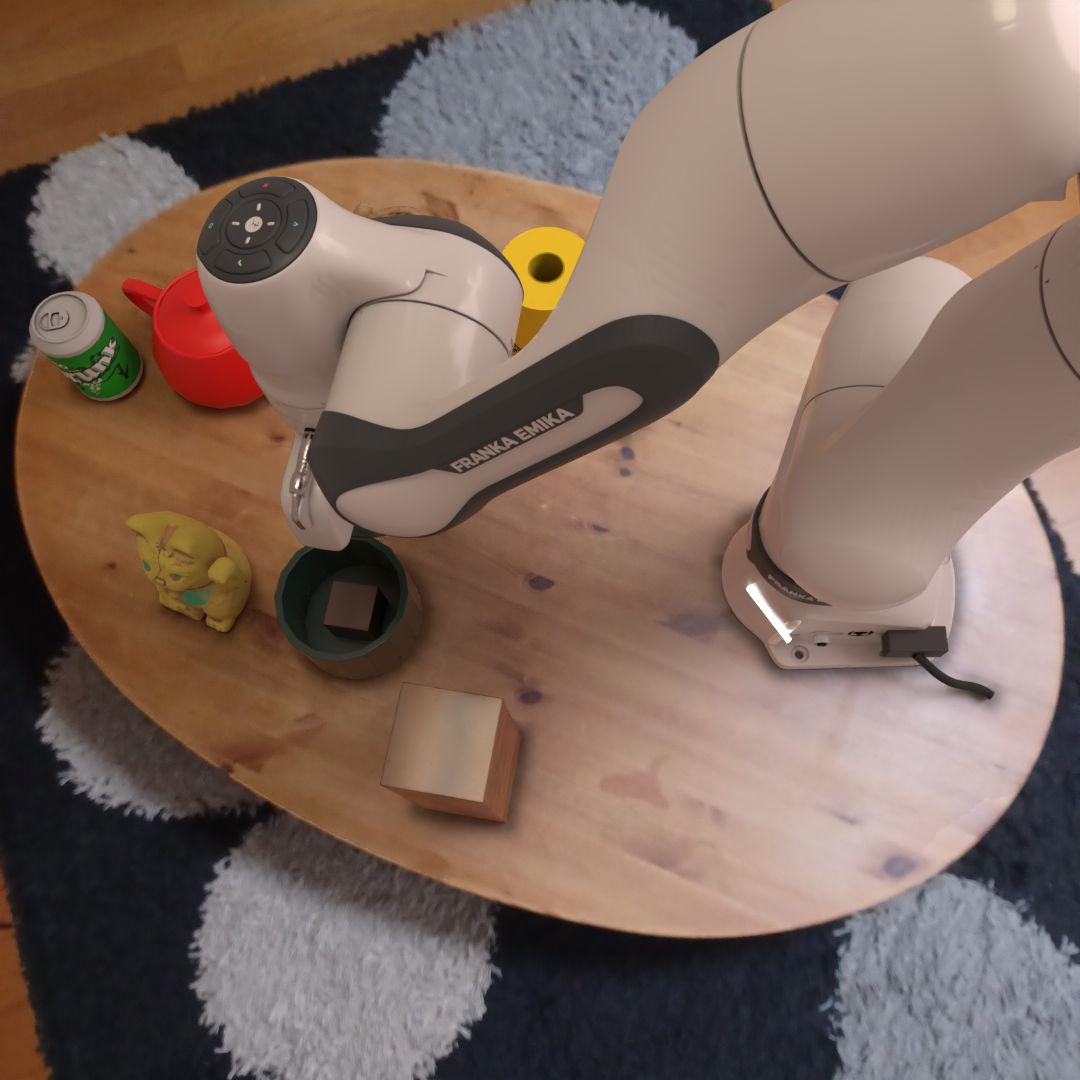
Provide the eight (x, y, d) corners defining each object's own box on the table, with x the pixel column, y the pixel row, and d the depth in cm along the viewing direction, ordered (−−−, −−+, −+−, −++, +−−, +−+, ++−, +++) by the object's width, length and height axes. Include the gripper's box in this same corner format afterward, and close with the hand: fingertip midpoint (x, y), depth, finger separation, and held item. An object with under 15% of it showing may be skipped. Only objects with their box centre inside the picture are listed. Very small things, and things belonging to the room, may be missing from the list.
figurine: (153, 604, 103) (83, 557, 89) (197, 530, 105) (135, 473, 91) (248, 647, 101) (191, 605, 87) (290, 570, 103) (242, 518, 89)
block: (387, 599, 101) (378, 586, 97) (377, 642, 100) (368, 631, 96) (344, 593, 102) (333, 579, 97) (334, 636, 100) (322, 624, 96)
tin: (434, 570, 103) (420, 542, 95) (408, 689, 99) (391, 670, 91) (317, 552, 104) (293, 523, 96) (286, 669, 100) (259, 649, 92)
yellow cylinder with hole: (566, 372, 109) (563, 325, 101) (488, 333, 112) (479, 284, 103) (612, 302, 112) (613, 251, 103) (535, 265, 114) (529, 212, 105)
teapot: (112, 375, 112) (57, 316, 101) (187, 266, 117) (142, 198, 105) (304, 460, 108) (269, 408, 96) (374, 343, 112) (349, 280, 100)
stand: (521, 737, 96) (502, 697, 78) (506, 822, 94) (483, 803, 75) (440, 723, 97) (402, 681, 78) (422, 808, 95) (379, 785, 76)
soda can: (80, 352, 114) (23, 292, 102) (145, 340, 114) (96, 278, 102) (81, 411, 111) (23, 356, 100) (149, 398, 111) (98, 342, 100)
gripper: (334, 519, 65) (377, 582, 78) (405, 252, 71) (433, 351, 84) (240, 504, 65) (299, 569, 78) (319, 241, 72) (360, 341, 85)
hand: (369, 455), depth 81 cm, fingers closed on tin lid, 2 cm apart
